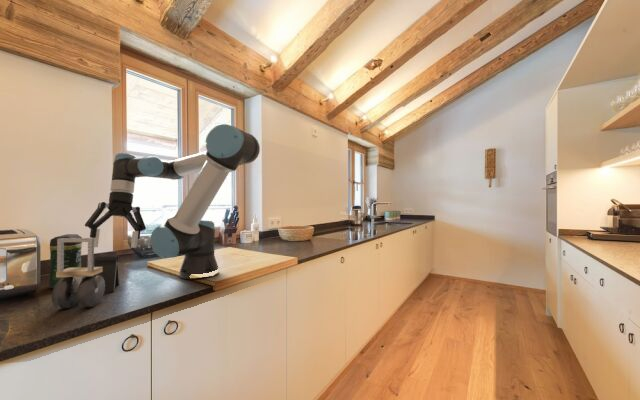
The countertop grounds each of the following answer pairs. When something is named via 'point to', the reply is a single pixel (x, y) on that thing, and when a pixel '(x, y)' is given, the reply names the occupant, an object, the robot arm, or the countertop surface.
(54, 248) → the coffee jar
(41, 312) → the countertop surface
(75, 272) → the trolley deck
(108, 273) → the dark grey bin
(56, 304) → the trolley
